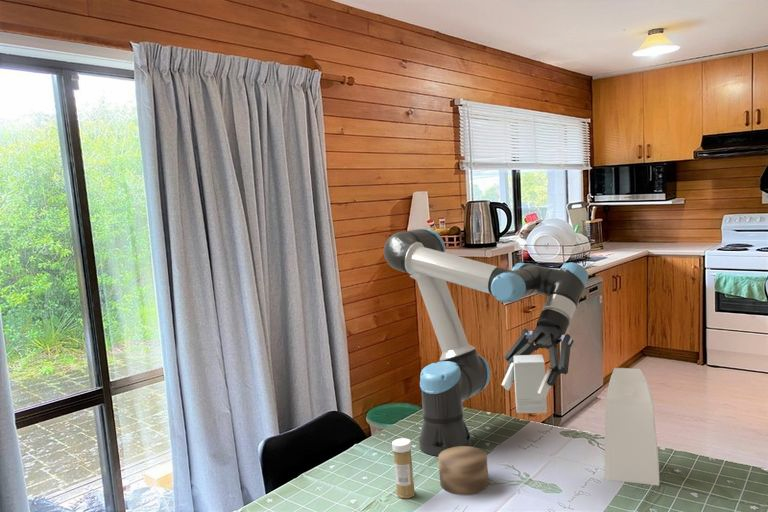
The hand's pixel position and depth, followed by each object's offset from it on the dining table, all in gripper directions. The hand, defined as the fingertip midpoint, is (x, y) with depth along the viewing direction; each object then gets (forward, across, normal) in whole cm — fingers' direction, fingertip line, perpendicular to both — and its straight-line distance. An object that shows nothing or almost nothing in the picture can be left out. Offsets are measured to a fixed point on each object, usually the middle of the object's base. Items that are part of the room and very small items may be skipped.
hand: (522, 391), depth 140 cm
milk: (+2, -16, -31) cm, 35 cm away
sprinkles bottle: (+33, +18, +1) cm, 38 cm away
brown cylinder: (+24, +12, -9) cm, 28 cm away
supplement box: (+1, 0, -6) cm, 6 cm away
